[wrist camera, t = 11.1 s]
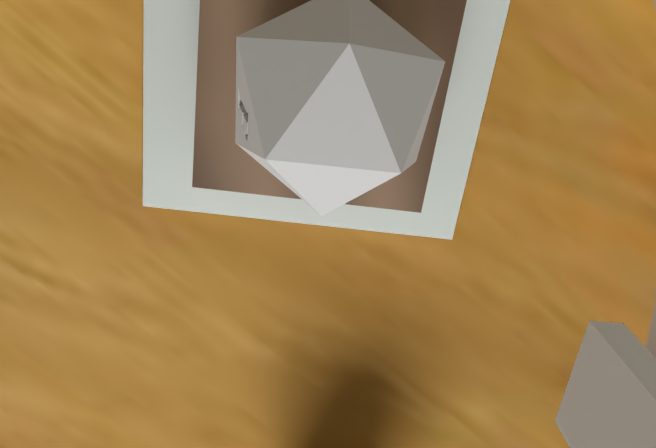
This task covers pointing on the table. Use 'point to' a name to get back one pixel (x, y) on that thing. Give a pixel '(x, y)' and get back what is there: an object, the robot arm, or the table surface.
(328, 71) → the die
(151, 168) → the base plate
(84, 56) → the table surface
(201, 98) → the walnut block
